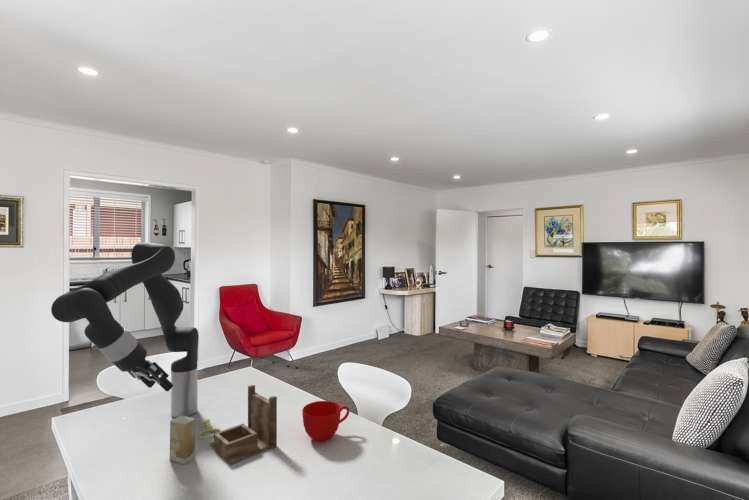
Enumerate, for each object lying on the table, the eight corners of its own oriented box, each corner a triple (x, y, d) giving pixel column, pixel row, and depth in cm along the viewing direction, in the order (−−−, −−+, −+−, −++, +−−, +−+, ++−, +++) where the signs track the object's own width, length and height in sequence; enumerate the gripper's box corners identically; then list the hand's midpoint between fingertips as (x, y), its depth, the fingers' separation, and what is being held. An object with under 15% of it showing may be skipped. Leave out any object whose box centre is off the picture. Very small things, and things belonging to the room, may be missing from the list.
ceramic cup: (357, 438, 130) (357, 408, 130) (310, 451, 121) (310, 420, 121) (341, 422, 141) (341, 395, 141) (296, 434, 132) (296, 405, 132)
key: (208, 423, 141) (208, 417, 141) (223, 435, 133) (223, 429, 133) (188, 430, 136) (188, 424, 136) (202, 443, 128) (202, 436, 128)
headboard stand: (209, 445, 125) (209, 396, 125) (253, 429, 136) (253, 384, 136) (232, 466, 113) (232, 412, 113) (278, 446, 124) (278, 397, 124)
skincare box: (168, 460, 116) (168, 420, 116) (180, 453, 120) (180, 414, 120) (184, 465, 114) (184, 424, 114) (196, 457, 118) (196, 418, 118)
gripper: (149, 340, 101) (185, 378, 109) (120, 337, 108) (156, 373, 116) (126, 363, 96) (166, 401, 104) (97, 358, 103) (136, 395, 111)
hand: (161, 386), depth 110 cm, fingers open, 8 cm apart
